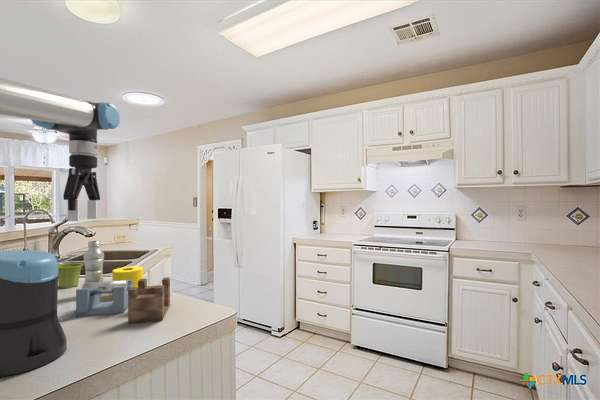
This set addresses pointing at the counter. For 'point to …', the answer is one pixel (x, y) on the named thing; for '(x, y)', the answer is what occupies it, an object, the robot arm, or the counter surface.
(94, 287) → the steel axle
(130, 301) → the bearing stand
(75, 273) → the plant pot
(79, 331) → the counter surface
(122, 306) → the blue notched cradle
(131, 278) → the yellow hollow cylinder
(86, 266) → the metal bottle
